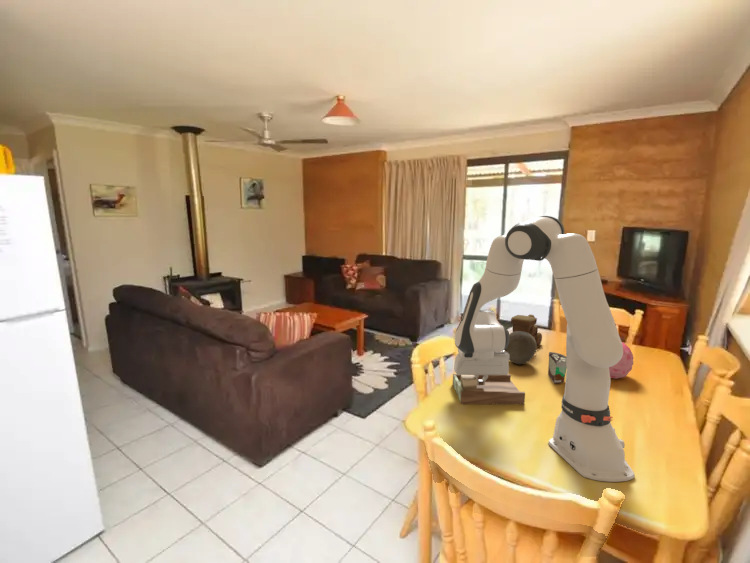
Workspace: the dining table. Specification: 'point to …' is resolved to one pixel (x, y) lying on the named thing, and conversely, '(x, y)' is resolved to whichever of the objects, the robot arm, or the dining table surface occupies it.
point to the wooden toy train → (527, 326)
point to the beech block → (468, 382)
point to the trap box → (490, 391)
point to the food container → (557, 367)
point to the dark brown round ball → (521, 347)
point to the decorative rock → (622, 364)
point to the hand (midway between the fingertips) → (480, 384)
